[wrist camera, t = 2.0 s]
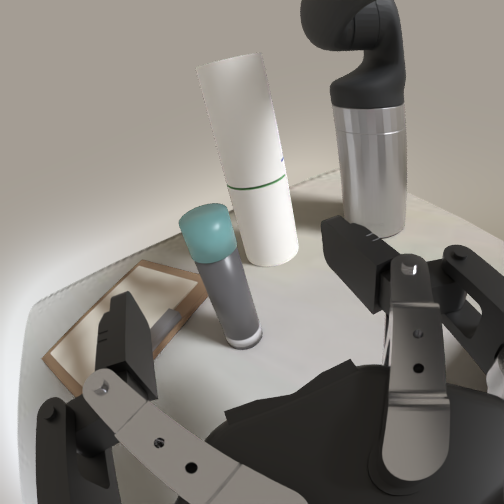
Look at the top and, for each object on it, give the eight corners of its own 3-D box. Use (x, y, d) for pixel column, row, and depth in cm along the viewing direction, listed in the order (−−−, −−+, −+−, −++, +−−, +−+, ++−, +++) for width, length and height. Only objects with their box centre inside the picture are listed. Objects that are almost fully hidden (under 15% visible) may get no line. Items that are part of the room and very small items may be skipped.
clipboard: (144, 263, 46) (139, 254, 45) (218, 283, 38) (214, 272, 37) (44, 362, 32) (37, 353, 31) (101, 421, 24) (91, 413, 23)
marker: (239, 317, 33) (199, 202, 25) (269, 327, 31) (237, 204, 23) (220, 343, 30) (169, 227, 22) (251, 355, 28) (207, 232, 20)
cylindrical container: (300, 233, 43) (266, 52, 29) (296, 265, 38) (254, 52, 24) (252, 236, 45) (208, 65, 31) (241, 267, 40) (184, 70, 26)
